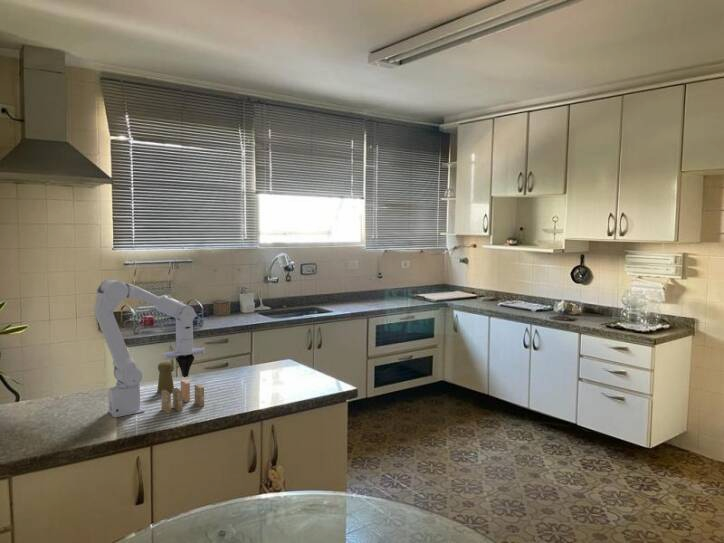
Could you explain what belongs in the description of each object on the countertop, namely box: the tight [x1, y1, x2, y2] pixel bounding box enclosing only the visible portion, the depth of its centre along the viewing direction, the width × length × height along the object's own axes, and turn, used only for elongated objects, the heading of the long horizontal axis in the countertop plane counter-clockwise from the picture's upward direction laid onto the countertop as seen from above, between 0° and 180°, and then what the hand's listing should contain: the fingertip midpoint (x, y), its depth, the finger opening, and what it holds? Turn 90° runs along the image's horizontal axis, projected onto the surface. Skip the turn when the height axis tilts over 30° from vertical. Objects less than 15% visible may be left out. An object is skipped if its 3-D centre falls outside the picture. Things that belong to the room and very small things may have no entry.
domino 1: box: [160, 390, 172, 414], centre depth 182 cm, size 1×5×6 cm, turn 38°
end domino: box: [194, 383, 205, 407], centre depth 189 cm, size 1×5×6 cm, turn 38°
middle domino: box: [172, 387, 183, 412], centre depth 184 cm, size 1×5×6 cm, turn 38°
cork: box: [156, 361, 175, 395], centre depth 202 cm, size 6×6×11 cm
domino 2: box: [180, 379, 191, 402], centre depth 194 cm, size 1×5×6 cm, turn 39°
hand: (185, 376), depth 193 cm, fingers closed
